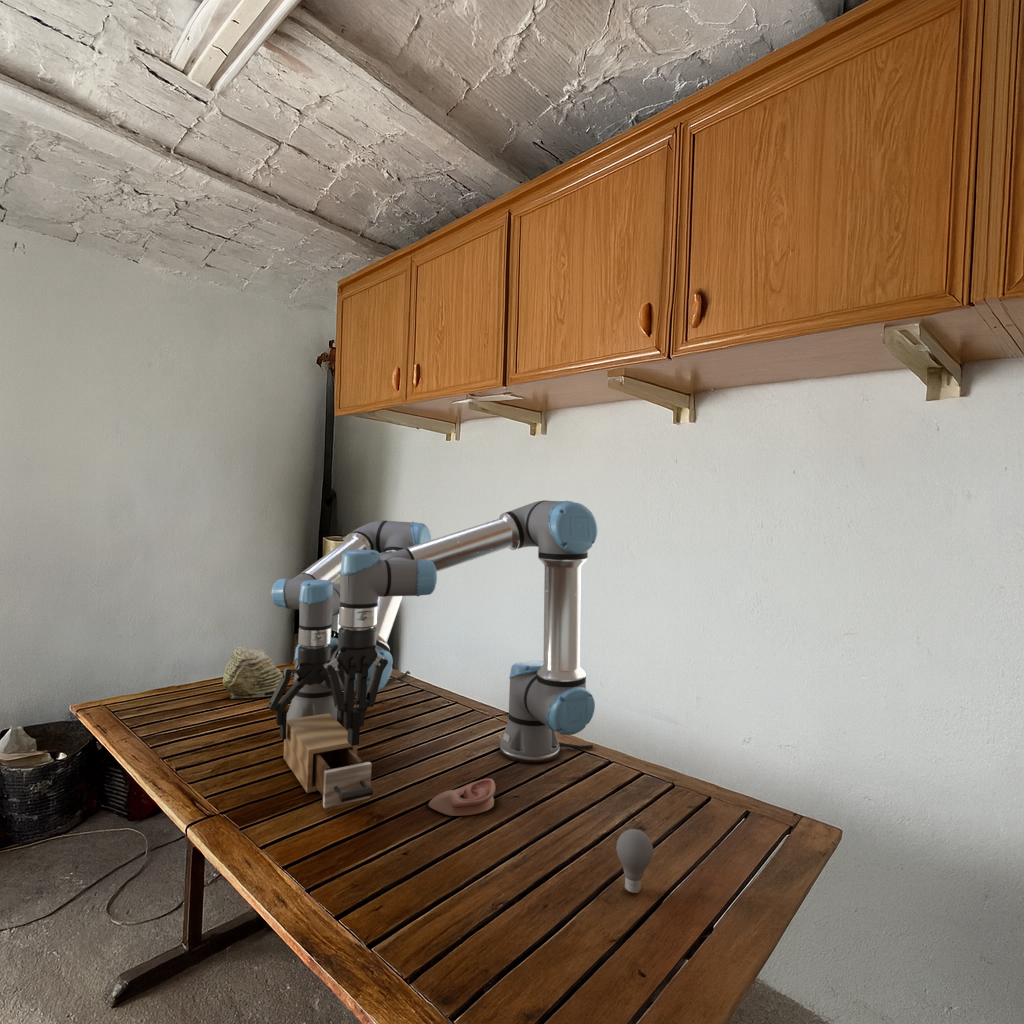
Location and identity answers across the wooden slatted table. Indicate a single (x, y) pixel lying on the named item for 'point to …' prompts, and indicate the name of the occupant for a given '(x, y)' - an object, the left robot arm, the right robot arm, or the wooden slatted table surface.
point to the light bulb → (634, 857)
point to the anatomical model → (466, 799)
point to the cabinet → (312, 744)
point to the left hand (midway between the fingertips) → (312, 732)
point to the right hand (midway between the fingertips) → (353, 742)
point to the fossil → (251, 674)
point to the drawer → (341, 777)
